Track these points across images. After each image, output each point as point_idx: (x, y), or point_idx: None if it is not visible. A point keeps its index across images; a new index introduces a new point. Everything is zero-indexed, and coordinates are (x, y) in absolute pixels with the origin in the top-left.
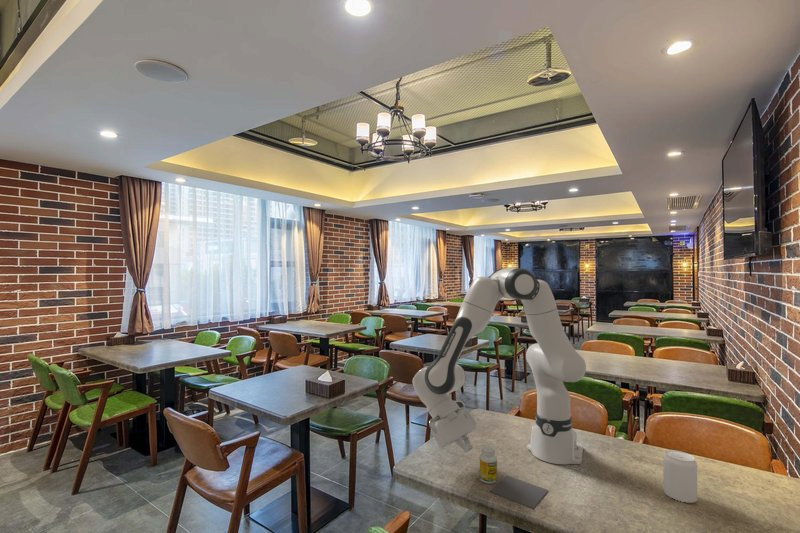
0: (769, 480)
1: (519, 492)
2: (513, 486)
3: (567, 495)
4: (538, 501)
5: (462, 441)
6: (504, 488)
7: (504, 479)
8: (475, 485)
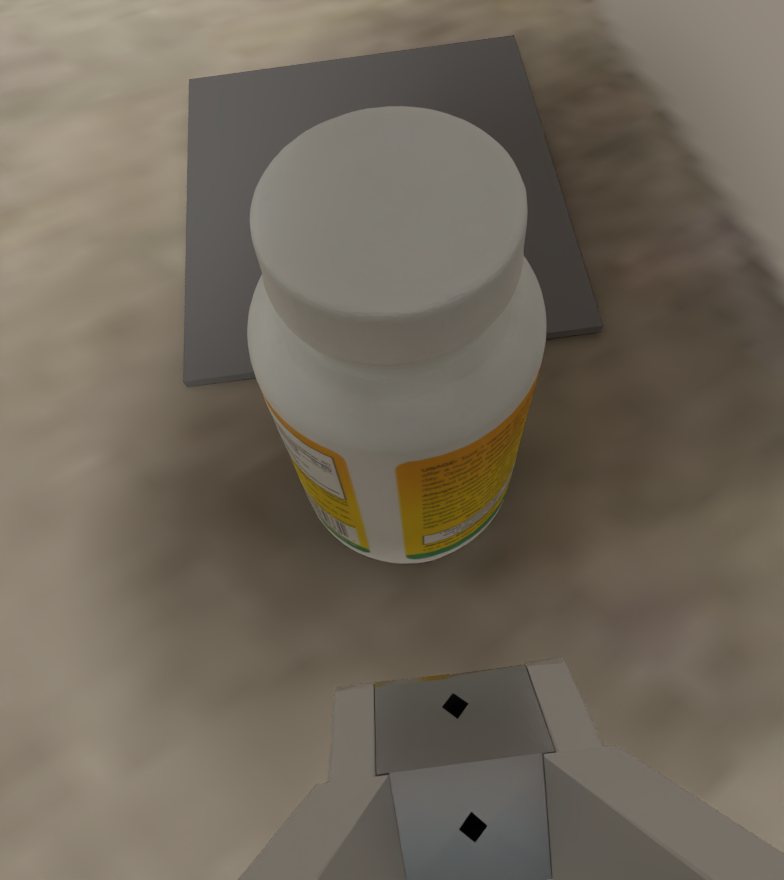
0: None
1: None
2: None
3: (157, 9)
4: (403, 52)
5: (717, 854)
6: None
7: None
8: (634, 489)
